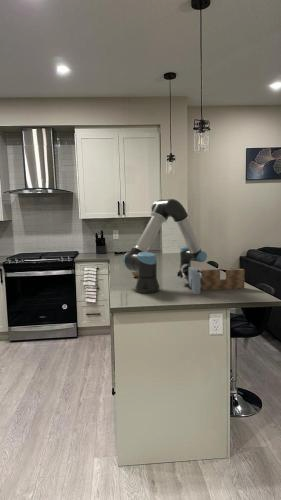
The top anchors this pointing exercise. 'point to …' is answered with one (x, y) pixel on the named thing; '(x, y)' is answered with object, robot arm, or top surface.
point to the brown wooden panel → (231, 282)
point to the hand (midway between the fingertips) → (193, 276)
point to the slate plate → (194, 280)
